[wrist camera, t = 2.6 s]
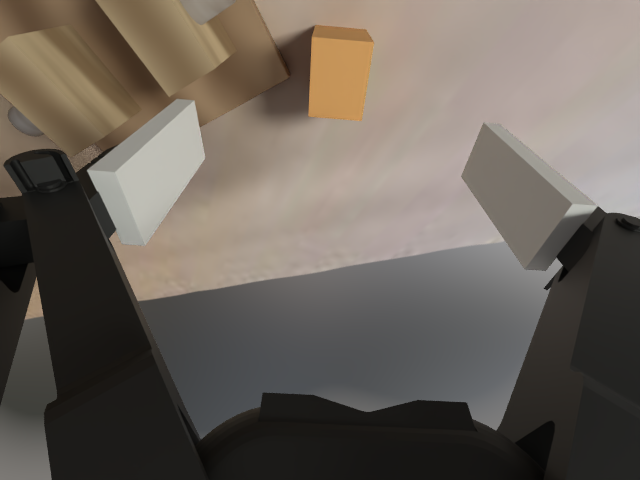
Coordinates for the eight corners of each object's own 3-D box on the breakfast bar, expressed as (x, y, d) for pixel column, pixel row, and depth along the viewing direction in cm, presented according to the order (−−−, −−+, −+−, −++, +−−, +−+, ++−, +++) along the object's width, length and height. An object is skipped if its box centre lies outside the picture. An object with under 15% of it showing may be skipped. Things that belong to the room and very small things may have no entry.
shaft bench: (173, -163, 18) (104, -221, 13) (290, 74, 26) (279, 100, 21) (-15, 19, 24) (-115, 32, 19) (127, 164, 32) (86, 203, 27)
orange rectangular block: (315, 25, 24) (311, 36, 19) (366, 29, 24) (374, 42, 19) (312, 92, 27) (308, 116, 23) (356, 96, 27) (361, 120, 23)
